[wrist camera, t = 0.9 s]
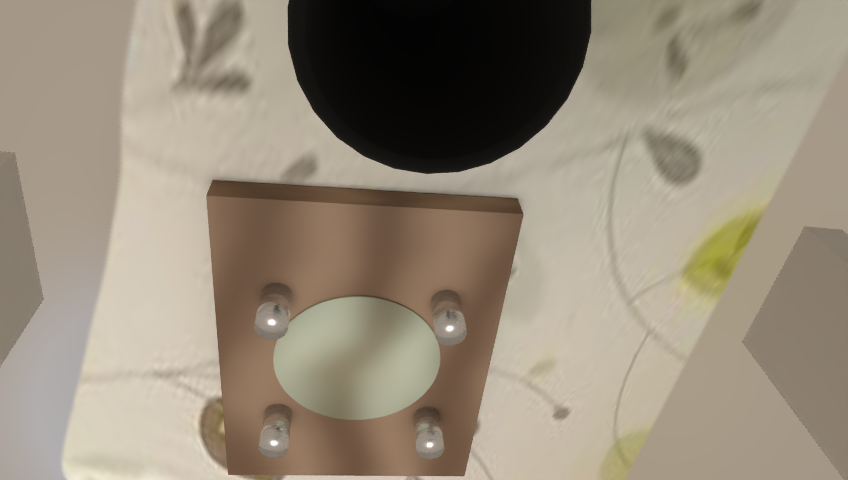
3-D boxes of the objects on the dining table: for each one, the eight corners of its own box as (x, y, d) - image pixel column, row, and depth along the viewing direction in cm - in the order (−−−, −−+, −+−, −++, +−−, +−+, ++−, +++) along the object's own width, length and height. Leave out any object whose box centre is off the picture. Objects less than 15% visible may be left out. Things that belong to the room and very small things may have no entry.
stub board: (517, 199, 33) (534, 242, 30) (461, 457, 44) (469, 510, 41) (212, 180, 31) (194, 224, 28) (232, 455, 42) (221, 510, 39)
